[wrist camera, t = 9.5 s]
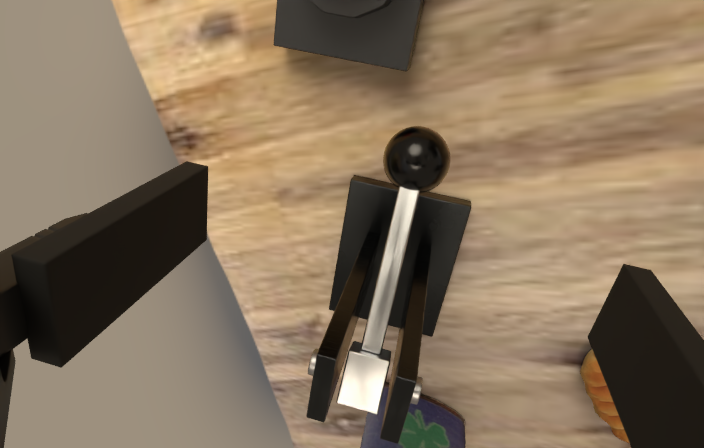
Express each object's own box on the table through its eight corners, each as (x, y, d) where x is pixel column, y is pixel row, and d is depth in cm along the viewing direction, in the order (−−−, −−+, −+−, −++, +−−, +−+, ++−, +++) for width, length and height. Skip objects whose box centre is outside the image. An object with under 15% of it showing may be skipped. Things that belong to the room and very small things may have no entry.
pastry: (554, 362, 38) (564, 395, 35) (629, 320, 35) (648, 352, 32) (624, 432, 40) (640, 471, 36) (702, 397, 37) (727, 435, 33)
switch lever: (392, 129, 27) (391, 111, 23) (453, 142, 27) (461, 126, 23) (331, 382, 27) (320, 403, 23) (392, 399, 26) (390, 423, 23)
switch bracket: (354, 174, 35) (285, 279, 21) (471, 201, 34) (481, 330, 20) (332, 302, 40) (265, 454, 26) (433, 328, 39) (419, 502, 25)
